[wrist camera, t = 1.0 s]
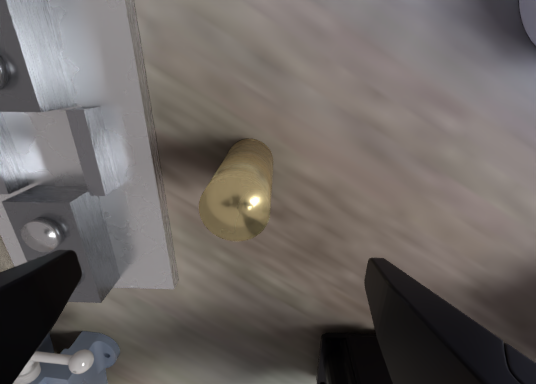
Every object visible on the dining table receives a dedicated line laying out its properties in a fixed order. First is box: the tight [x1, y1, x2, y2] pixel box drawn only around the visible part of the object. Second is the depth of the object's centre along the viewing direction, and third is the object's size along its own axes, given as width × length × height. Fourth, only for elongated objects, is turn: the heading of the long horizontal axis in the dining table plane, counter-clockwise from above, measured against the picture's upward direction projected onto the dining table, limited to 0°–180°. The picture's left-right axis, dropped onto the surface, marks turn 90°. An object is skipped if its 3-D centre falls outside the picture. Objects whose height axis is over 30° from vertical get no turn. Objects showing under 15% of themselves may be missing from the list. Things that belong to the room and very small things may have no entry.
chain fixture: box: [0, 0, 178, 303], centre depth 16 cm, size 22×12×4 cm, turn 0°
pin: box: [199, 139, 273, 241], centre depth 15 cm, size 3×3×7 cm
